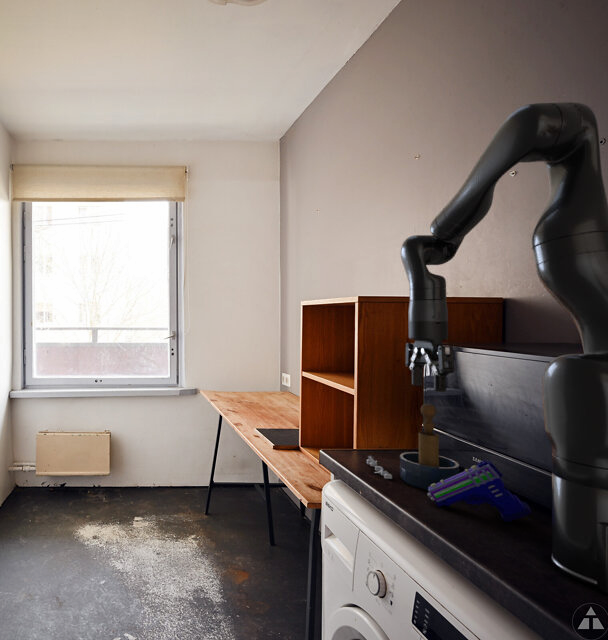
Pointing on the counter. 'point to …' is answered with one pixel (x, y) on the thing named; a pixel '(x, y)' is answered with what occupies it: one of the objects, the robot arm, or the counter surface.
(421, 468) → the blue bowl
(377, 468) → the figurines set
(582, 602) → the counter surface
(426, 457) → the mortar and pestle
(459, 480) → the toy gun
